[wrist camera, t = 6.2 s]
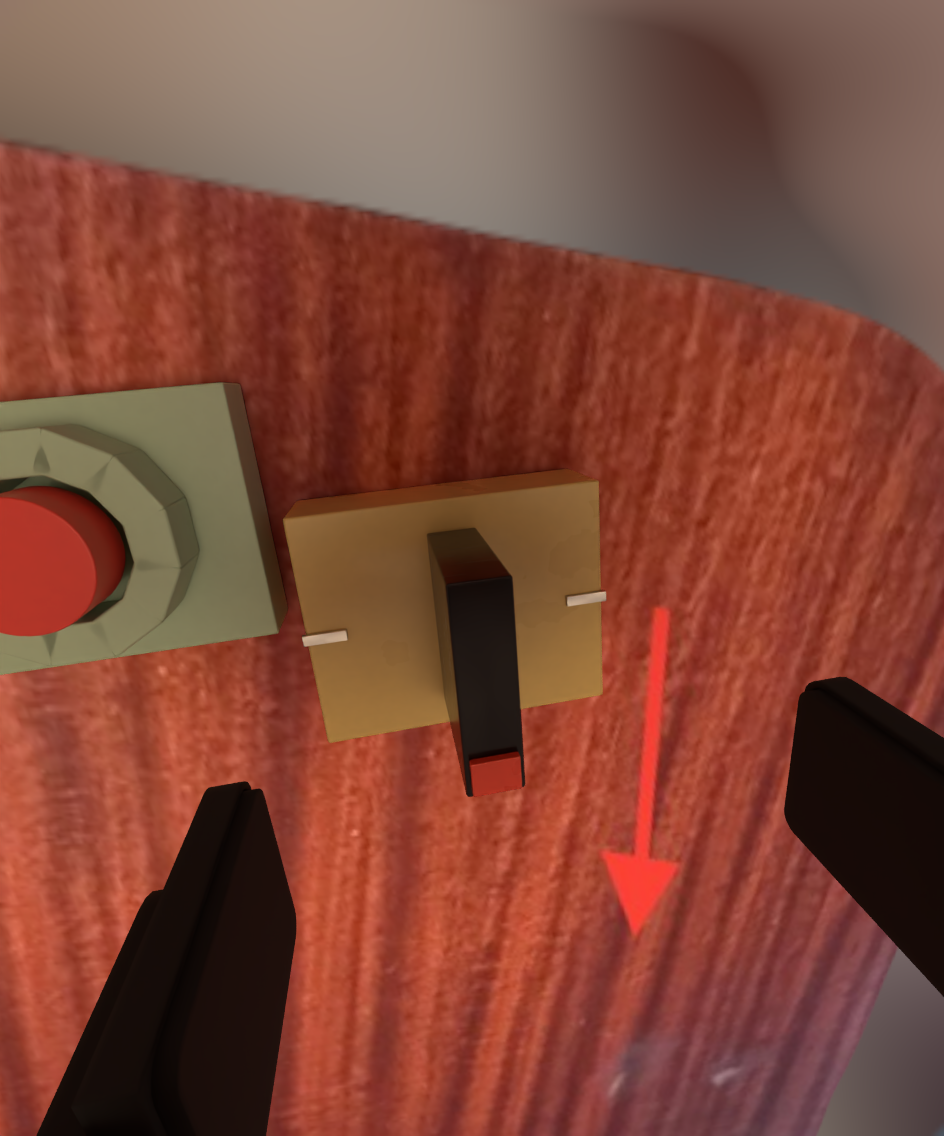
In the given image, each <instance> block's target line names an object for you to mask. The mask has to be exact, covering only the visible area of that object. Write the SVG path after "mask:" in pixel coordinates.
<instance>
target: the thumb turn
mask: <svg viewBox="0 0 944 1136" xmlns="http://www.w3.org/2000/svg"><path fill="white" fill-rule="evenodd" d="M427 544H428V553H429V562H430V571H431V580H432V589H433V598H434V607H435V616H436V625H437V634H438V643H439V652H440V662H441V671H442V680H443V689H444V698H445V702H446V707H447V711H448V716H449V720H450V724H451V729H452V733H453V738H454V742H455V746H456V751H457V755H458V760H459V764H460V768H461V773H462V777H463V781H464V786H465V790H466V794H467V796H468V797H472V796H474V797H478V796H483V795H489V794H494V793H499V792H505V791H510V790H515V789H521V788H522V787H524V786H525V770H524V754H523V738H522V721H521V705H520V688H519V672H518V655H517V639H516V622H515V606H514V589H513V577H512V575H511V574H510V573H509V571H508V570H507V569H506V567H505V566H504V565H503V563H502V562H501V561H500V560H499V558H498V557H497V556H496V554H495V553H494V552H493V550H492V549H491V548H490V546H489V545H488V544H487V542H486V541H485V540H484V538H483V537H482V536H481V534H480V533H479V532H478V530H477V529H476V528H468V529H459V530H451V531H443V532H434V533H428V534H427Z"/></svg>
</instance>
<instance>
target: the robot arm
mask: <svg viewBox="0 0 944 1136" xmlns="http://www.w3.org/2000/svg"><path fill="white" fill-rule="evenodd" d="M784 813H785V818H786V821H787V823H788V825H789V827H790V829H791V830H792V831H793V833H794V834H795V835H796V836H797V837H798V838H799V839H800V840H801V841H802V843H803V844H804V845H805V846H806V847H807V848H808V849H809V850H810V851H811V852H812V854H813V855H814V856H815V857H816V858H817V859H818V860H819V861H820V862H821V863H822V864H823V866H824V867H825V868H826V869H827V870H828V871H829V872H830V873H831V874H832V875H833V876H834V878H835V879H836V880H837V881H838V882H839V883H840V884H841V885H842V886H843V887H844V888H845V890H846V891H847V892H848V893H849V894H850V895H851V896H852V897H853V898H854V899H855V900H856V902H857V903H858V904H859V905H860V906H861V907H862V908H863V909H864V910H865V911H866V913H867V914H868V915H869V916H870V917H871V918H872V919H873V920H874V921H875V922H876V923H877V925H878V926H879V927H880V928H881V929H882V930H883V931H884V932H885V933H886V934H887V935H888V937H889V938H890V939H891V940H892V941H893V942H894V943H895V944H896V945H897V946H898V947H899V949H900V950H901V951H902V952H903V953H904V954H905V955H906V956H907V957H908V958H909V959H910V961H911V962H912V963H913V964H914V965H915V966H916V967H917V968H918V969H919V970H920V971H921V972H922V974H923V975H924V976H925V977H926V978H927V979H928V980H929V981H930V982H931V984H933V986H934V987H935V988H936V989H937V990H938V991H939V992H940V993H941V994H942V995H943V997H944V738H943V737H941V736H940V735H938V734H937V733H935V732H933V731H932V730H930V729H929V728H927V727H926V726H924V725H922V724H921V723H919V722H918V721H916V720H914V719H913V718H911V717H910V716H908V715H907V714H905V713H903V712H902V711H900V710H899V709H897V708H896V707H894V706H892V705H891V704H889V703H888V702H886V701H884V700H883V699H881V698H880V697H878V696H877V695H875V694H873V693H872V692H870V691H869V690H867V689H866V688H864V687H862V686H861V685H859V684H858V683H856V682H854V681H853V680H851V679H849V678H847V677H836V678H831V679H825V680H819V681H814V682H811V683H809V684H808V685H807V686H806V689H805V692H803V693H802V694H801V695H800V697H799V701H798V709H797V717H796V724H795V732H794V739H793V747H792V754H791V762H790V769H789V777H788V784H787V792H786V800H785V807H784ZM295 939H296V913H295V908H294V905H293V901H292V897H291V893H290V890H289V886H288V882H287V879H286V875H285V871H284V867H283V864H282V860H281V856H280V853H279V849H278V845H277V841H276V838H275V834H274V830H273V826H272V823H271V819H270V815H269V812H268V808H267V804H266V800H265V797H264V794H263V791H262V790H261V789H254V790H251V787H250V785H249V783H248V782H245V781H244V782H238V783H232V784H227V785H221V786H215V787H210V788H208V789H207V790H206V791H205V793H204V795H203V797H202V800H201V802H200V804H199V807H198V809H197V811H196V814H195V816H194V818H193V821H192V823H191V825H190V828H189V830H188V833H187V835H186V837H185V840H184V842H183V844H182V847H181V849H180V851H179V854H178V856H177V858H176V861H175V863H174V866H173V868H172V870H171V873H170V875H169V877H168V880H167V882H166V884H165V887H164V889H163V890H158V891H153V892H152V893H150V894H149V895H148V896H147V897H146V898H145V900H144V902H143V904H142V905H141V907H140V909H139V911H138V913H137V915H136V918H135V920H134V922H133V924H132V926H131V929H130V931H129V933H128V935H127V937H126V940H125V942H124V944H123V946H122V948H121V951H120V953H119V955H118V957H117V959H116V962H115V964H114V966H113V968H112V970H111V973H110V975H109V977H108V979H107V981H106V984H105V986H104V988H103V990H102V992H101V995H100V997H99V999H98V1001H97V1003H96V1006H95V1008H94V1010H93V1012H92V1014H91V1017H90V1019H89V1021H88V1023H87V1025H86V1028H85V1030H84V1032H83V1034H82V1036H81V1039H80V1041H79V1043H78V1045H77V1047H76V1050H75V1052H74V1054H73V1056H72V1059H71V1061H70V1063H69V1065H68V1067H67V1070H66V1072H65V1074H64V1076H63V1078H62V1081H61V1083H60V1085H59V1087H58V1089H57V1092H56V1094H55V1096H54V1098H53V1100H52V1103H51V1105H50V1107H49V1109H48V1111H47V1114H46V1116H45V1118H44V1120H43V1122H42V1125H41V1127H40V1129H39V1131H38V1133H37V1136H266V1132H267V1125H268V1118H269V1112H270V1105H271V1099H272V1092H273V1085H274V1079H275V1072H276V1065H277V1059H278V1052H279V1045H280V1039H281V1032H282V1025H283V1019H284V1012H285V1005H286V999H287V992H288V985H289V979H290V972H291V965H292V959H293V952H294V945H295Z"/></svg>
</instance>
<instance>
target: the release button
mask: <svg viewBox="0 0 944 1136" xmlns="http://www.w3.org/2000/svg"><path fill="white" fill-rule="evenodd" d="M125 559H126V558H125V549H124V544H123V541H122V538H121V536H120V533H119V532H118V530H117V528H116V526H115V525H114V523H113V522H112V521H111V519H110V518H109V517H108V516H107V515H106V514H105V513H104V512H103V511H102V510H101V509H100V508H99V507H98V506H96V505H95V504H94V503H92V502H91V501H89V500H88V499H86V498H84V497H82V496H80V495H78V494H76V493H73V492H71V491H68V490H65V489H61V488H57V487H51V486H28V487H23V488H18V489H14V490H11V491H7V492H3V493H0V633H3V634H8V635H14V636H41V635H46V634H51V633H54V632H57V631H60V630H62V629H64V628H66V627H68V626H70V625H71V624H73V623H74V622H76V621H77V620H79V619H80V618H81V617H83V616H84V615H85V614H87V613H88V612H89V611H91V610H92V609H93V608H94V607H96V606H97V605H98V604H100V603H101V602H102V601H104V600H105V599H106V598H107V597H108V596H110V595H111V594H112V593H113V591H114V590H115V589H116V588H117V586H118V584H119V583H120V581H121V579H122V576H123V573H124V569H125Z"/></svg>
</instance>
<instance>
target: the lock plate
mask: <svg viewBox="0 0 944 1136" xmlns="http://www.w3.org/2000/svg"><path fill="white" fill-rule="evenodd" d="M283 525H284V529H285V534H286V539H287V544H288V549H289V554H290V559H291V563H292V568H293V573H294V578H295V583H296V588H297V593H298V598H299V602H300V607H301V612H302V617H303V622H304V627H305V632H306V635H302V640H303V645H304V647H307V646H309V651H310V656H311V661H312V666H313V671H314V675H315V680H316V685H317V690H318V695H319V700H320V705H321V709H322V714H323V719H324V724H325V729H326V734H327V739H328V742H329V743H332V742H337V741H343V740H349V739H354V738H360V737H366V736H371V735H377V734H383V733H388V732H394V731H400V730H405V729H411V728H417V727H422V726H428V725H434V724H439V723H445V722H450V720H449V716H448V711H447V707H446V702H445V698H444V689H443V680H442V671H441V662H440V652H439V643H438V634H437V625H436V616H435V607H434V598H433V589H432V580H431V571H430V562H429V553H428V544H427V534H428V533H434V532H443V531H451V530H459V529H468V528H476V529H477V530H478V532H479V533H480V534H481V536H482V537H483V538H484V540H485V541H486V542H487V544H488V545H489V546H490V548H491V549H492V550H493V552H494V553H495V554H496V556H497V557H498V558H499V560H500V561H501V562H502V563H503V565H504V566H505V567H506V569H507V570H508V571H509V573H510V574H511V575H512V577H513V589H514V606H515V622H516V639H517V655H518V672H519V688H520V705H521V709H525V708H530V707H536V706H542V705H547V704H553V703H559V702H564V701H570V700H576V699H581V698H587V697H593V696H598V695H602V693H603V690H602V635H601V601H606V591H605V590H601V579H600V524H599V481H598V480H596V479H593V478H591V477H588V476H586V475H583V474H580V473H578V472H575V471H573V470H570V469H560V470H552V471H543V472H535V473H526V474H518V475H509V476H501V477H493V478H484V479H476V480H467V481H459V482H451V483H442V484H434V485H425V486H417V487H409V488H400V489H392V490H383V491H375V492H367V493H358V494H350V495H341V496H333V497H324V498H316V499H308V500H299V501H296V502H295V504H294V505H293V506H292V508H291V509H290V510H289V512H288V513H287V514H286V516H285V517H284V518H283Z"/></svg>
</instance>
